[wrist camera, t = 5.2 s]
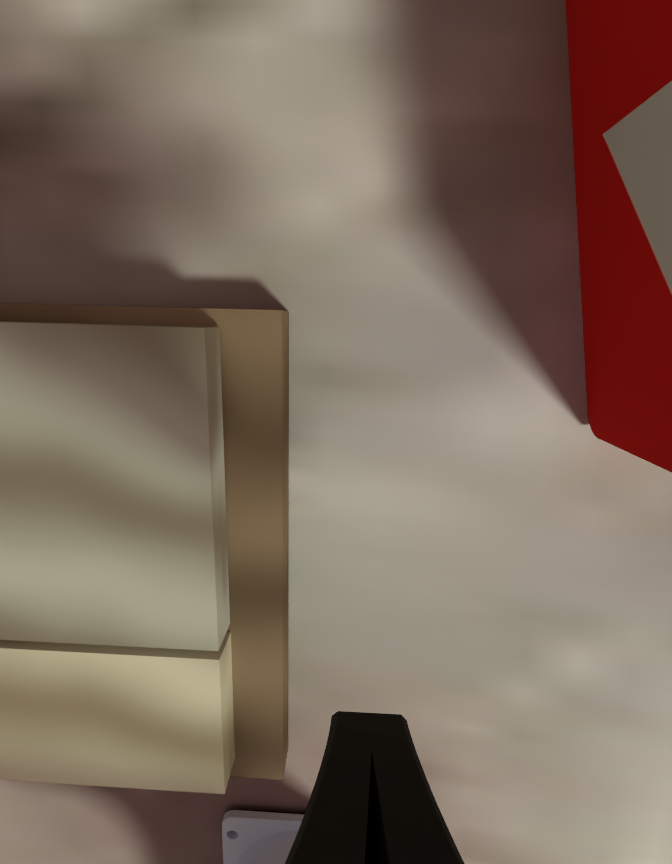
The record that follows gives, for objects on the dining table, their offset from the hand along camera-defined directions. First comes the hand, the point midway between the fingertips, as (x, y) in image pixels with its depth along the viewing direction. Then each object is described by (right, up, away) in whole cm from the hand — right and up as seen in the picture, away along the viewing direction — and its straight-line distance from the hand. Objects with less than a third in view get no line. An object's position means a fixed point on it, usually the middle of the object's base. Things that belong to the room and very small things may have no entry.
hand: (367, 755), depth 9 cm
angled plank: (-11, +5, +7) cm, 14 cm away
